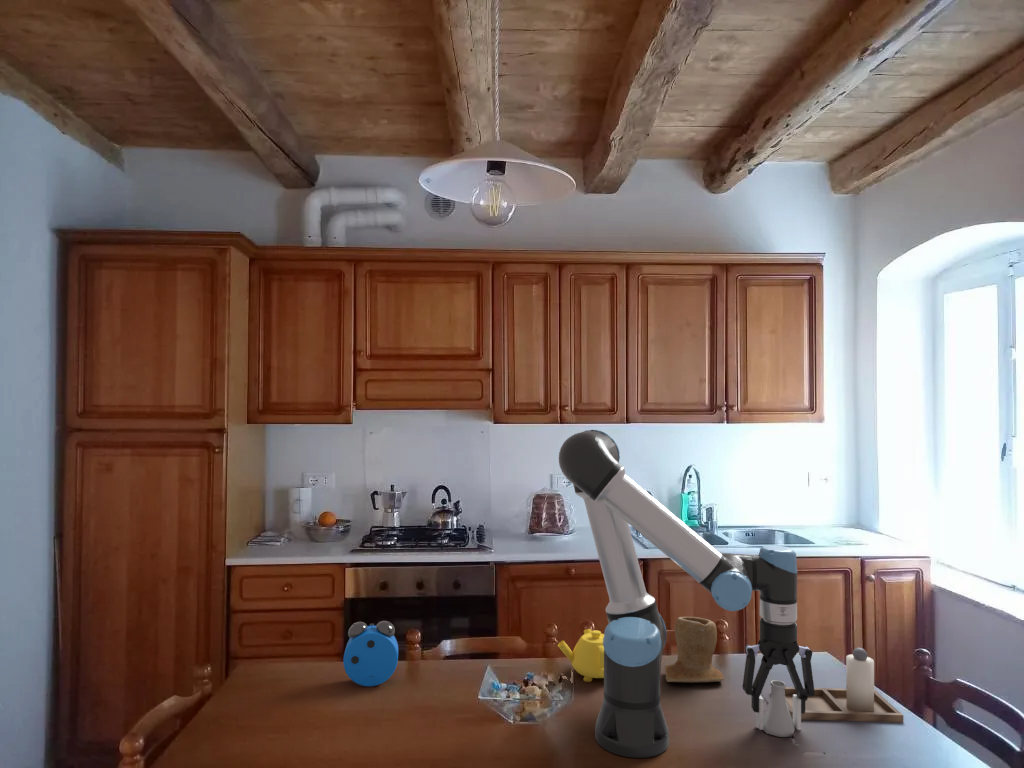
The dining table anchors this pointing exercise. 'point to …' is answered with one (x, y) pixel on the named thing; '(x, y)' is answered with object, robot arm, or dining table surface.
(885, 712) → the tray
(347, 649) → the alarm clock
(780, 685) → the flask
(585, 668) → the teapot
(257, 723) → the dining table surface
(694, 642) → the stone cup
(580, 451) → the robot arm
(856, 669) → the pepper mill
